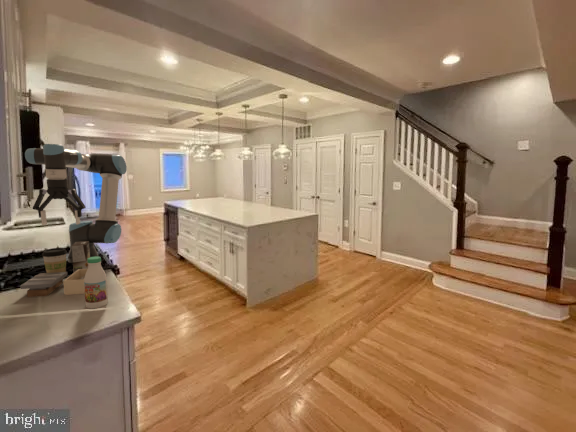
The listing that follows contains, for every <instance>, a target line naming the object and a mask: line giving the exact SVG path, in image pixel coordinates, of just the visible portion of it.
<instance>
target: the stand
mask: <svg viewBox="0 0 576 432" xmlns="http://www.w3.org/2000/svg"><path fill="white" fill-rule="evenodd" d="M63 281H64V278H63V279H62V280H60V281H59V282H58V283H57V284H55V285H54V286H53V287H48V288H46V289H38V290H30V289H27V291H26V294H27V298H29V297H30V298H32V297H48V296H49V295H50V294H52V293H53V292H54V291H55V290H56V289H57V288H59V287H60V286H61V285H62V284H64V283H63Z"/></svg>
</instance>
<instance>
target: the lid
mask: <svg viewBox="0 0 576 432" xmlns="http://www.w3.org/2000/svg"><path fill="white" fill-rule="evenodd" d="M68 275H69V274H68V271H66V272H55V273H47V272H40V273H38V274H36V275H34V276H33V277H31V278H30V279H27V281H26V282H24V283H22V284H21V285H20V286H19V287H20V290H26V289H27V290H29V289H30V290H38V289H46V288H48V287H53V286H54V285H55V284H57V283H58V282H59V281H60V280H62V279H63V280H64V279H65V278H66V277H67V276H68ZM64 277H65V278H64Z"/></svg>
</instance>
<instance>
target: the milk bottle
mask: <svg viewBox="0 0 576 432" xmlns="http://www.w3.org/2000/svg"><path fill="white" fill-rule="evenodd" d="M87 262H88V270H87V272H86V274H85V278H84V288H85V294H84V300H85V301H84V302H85V307H86V308H87V309H88V308H89V309H88V310H95V309H94V308H100V307H104V306H105V305H107V304H108V303H109V296H108V295H109V293H108V292H109V291H108V281H107V279H108V278H107V275H106V272H105V270H104V268H103V266H102V264H101V263H102V258H101V256H98V257H90V258H88V259H87Z"/></svg>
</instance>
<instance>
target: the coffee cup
mask: <svg viewBox="0 0 576 432" xmlns="http://www.w3.org/2000/svg"><path fill="white" fill-rule="evenodd" d="M67 255H68V251H67V250H66V248H64V247H53V248H48V249H45V250H44V249H43V251H42V253H41V256H42V257H43V263H44V268H45V271H46V272H45V273H55V272H67V270H66V269H67ZM63 279H66V277H64V278H63Z"/></svg>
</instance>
